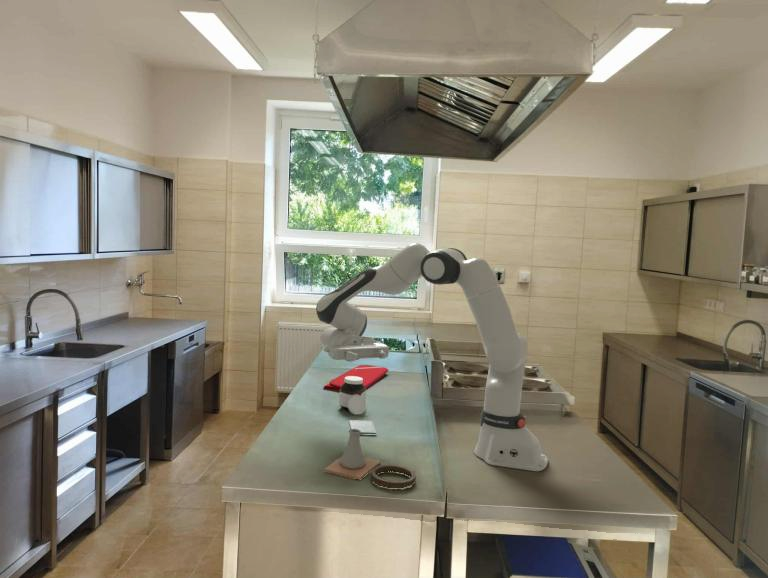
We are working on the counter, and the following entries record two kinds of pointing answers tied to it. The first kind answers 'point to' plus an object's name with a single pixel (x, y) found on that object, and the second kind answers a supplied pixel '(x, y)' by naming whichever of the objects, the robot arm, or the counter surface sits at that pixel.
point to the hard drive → (363, 426)
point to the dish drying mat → (363, 371)
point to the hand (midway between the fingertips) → (370, 356)
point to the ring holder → (392, 484)
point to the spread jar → (353, 395)
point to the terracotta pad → (352, 473)
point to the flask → (353, 452)
